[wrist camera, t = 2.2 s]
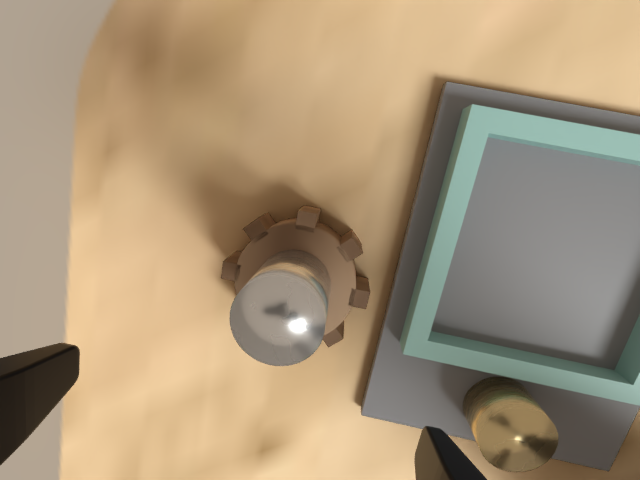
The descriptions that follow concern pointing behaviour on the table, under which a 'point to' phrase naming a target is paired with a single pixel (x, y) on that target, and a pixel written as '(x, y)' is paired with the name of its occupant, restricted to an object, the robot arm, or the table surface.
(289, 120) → the table surface
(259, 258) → the planet gear
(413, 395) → the carrier plate
